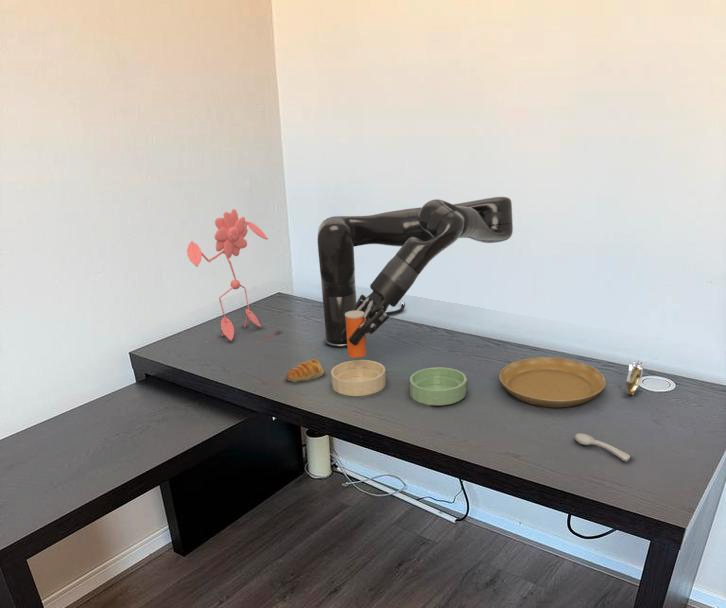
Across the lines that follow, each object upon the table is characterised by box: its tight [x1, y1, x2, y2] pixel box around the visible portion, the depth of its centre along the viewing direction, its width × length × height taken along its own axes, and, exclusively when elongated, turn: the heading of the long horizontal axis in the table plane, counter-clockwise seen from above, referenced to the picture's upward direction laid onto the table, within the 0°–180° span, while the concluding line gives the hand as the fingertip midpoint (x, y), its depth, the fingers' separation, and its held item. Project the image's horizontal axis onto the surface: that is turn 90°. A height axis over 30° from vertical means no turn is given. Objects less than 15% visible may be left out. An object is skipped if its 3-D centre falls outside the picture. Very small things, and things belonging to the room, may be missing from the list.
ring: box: [625, 360, 645, 396], centre depth 155 cm, size 7×3×8 cm, turn 137°
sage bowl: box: [409, 366, 468, 406], centre depth 161 cm, size 13×13×4 cm
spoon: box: [574, 432, 631, 463], centre depth 137 cm, size 3×12×2 cm, turn 42°
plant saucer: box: [498, 356, 607, 408], centre depth 160 cm, size 24×24×3 cm
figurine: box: [186, 208, 280, 345], centre depth 192 cm, size 15×26×35 cm, turn 141°
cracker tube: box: [345, 310, 367, 359], centre depth 161 cm, size 5×5×10 cm
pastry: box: [286, 358, 325, 383], centre depth 173 cm, size 9×7×4 cm
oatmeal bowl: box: [330, 359, 387, 397], centre depth 167 cm, size 13×13×4 cm
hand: (348, 339), depth 161 cm, fingers closed on cracker tube, 4 cm apart
